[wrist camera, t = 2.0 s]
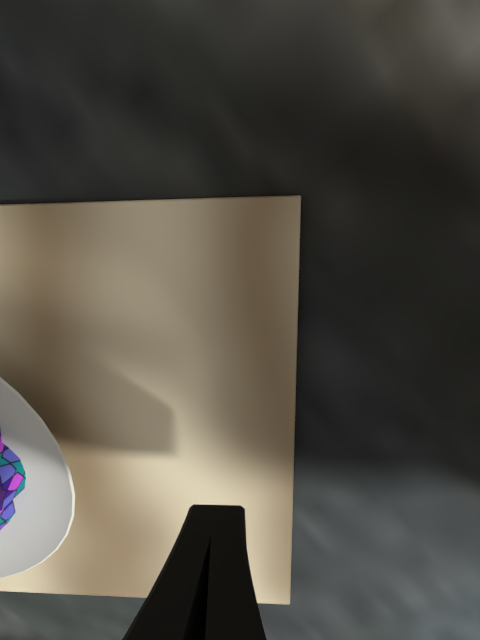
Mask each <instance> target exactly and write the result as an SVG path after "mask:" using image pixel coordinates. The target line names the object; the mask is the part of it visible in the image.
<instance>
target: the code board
mask: <svg viewBox="0 0 480 640" xmlns="http://www.w3.org/2000/svg"><path fill="white" fill-rule="evenodd" d="M300 213H301V196H300V195H293V196H261V197H229V198H196V199H164V200H132V201H100V202H68V203H36V204H4V205H0V377H1V378H2V379H3V380H4V381H6V382H7V383H8V384H9V385H10V386H11V387H13V388H14V389H15V390H16V391H17V392H18V393H19V394H20V395H21V396H22V397H23V398H24V399H25V400H26V402H27V403H28V404H29V405H30V406H31V407H32V408H33V409H34V411H35V412H36V413H37V414H38V415H39V416H40V417H41V418H42V420H43V421H44V423H45V424H46V426H47V427H48V429H49V430H50V432H51V433H52V435H53V436H54V438H55V440H56V441H57V443H58V444H59V446H60V448H61V450H62V453H63V455H64V457H65V460H66V462H67V464H68V467H69V469H70V471H71V476H72V481H73V486H74V491H75V509H74V518H73V521H72V524H71V527H70V530H69V533H68V535H67V537H66V538H65V539H64V541H63V542H62V544H61V545H60V547H59V548H58V550H56V551H55V552H54V553H53V554H52V555H51V556H49V557H48V558H47V559H46V560H45V561H44V562H42V563H40V564H38V565H36V566H34V567H33V568H31V569H29V570H27V571H25V572H21V573H18V574H15V575H12V576H8V577H5V578H0V591H12V592H34V593H55V594H77V595H98V596H120V597H141V598H147V596H148V595H149V593H150V591H151V589H152V587H153V585H154V583H155V581H156V579H157V577H158V576H159V574H160V572H161V570H162V568H163V566H164V564H165V562H166V560H167V558H168V556H169V554H170V552H171V550H172V548H173V546H174V544H175V541H176V539H177V537H178V535H179V533H180V530H181V528H182V526H183V523H184V521H185V518H186V516H187V513H188V510H189V508H190V507H191V506H192V505H193V504H199V505H241V506H242V507H243V508H244V509H245V521H246V542H247V553H248V560H249V566H250V571H251V577H252V581H253V586H254V591H255V595H256V600H257V603H270V604H290V581H291V544H292V507H293V471H294V434H295V397H296V360H297V324H298V287H299V250H300Z"/></svg>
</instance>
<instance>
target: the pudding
mask: <svg viewBox="0 0 480 640" xmlns="http://www.w3.org/2000/svg"><path fill="white" fill-rule="evenodd" d="M74 509H75V491H74V486H73V481H72V476H71V471H70V469H69V467H68V464H67V462H66V460H65V457H64V455H63V453H62V450H61V448H60V446H59V444H58V443H57V441H56V440H55V438H54V436H53V435H52V433H51V432H50V430H49V429H48V427H47V426H46V424H45V423H44V421H43V420H42V418H41V417H40V416H39V415H38V414H37V413H36V412H35V411H34V409H33V408H32V407H31V406H30V405H29V404H28V403H27V402H26V400H25V399H24V398H23V397H22V396H21V395H20V394H19V393H18V392H17V391H16V390H15V389H14V388H13V387H11V386H10V385H9V384H8V383H7V382H6V381H4V380H3V379H2V378H1V377H0V578H5V577H8V576H12V575H15V574H18V573H21V572H25V571H27V570H29V569H31V568H33V567H34V566H36V565H38V564H40V563H42V562H44V561H45V560H46V559H47V558H48V557H49V556H51V555H52V554H53V553H54V552H55V551H56V550H58V548H59V547H60V545H61V544H62V542H63V541H64V539H65V538H66V537H67V535H68V533H69V530H70V527H71V524H72V521H73V518H74Z"/></svg>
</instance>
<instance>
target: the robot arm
mask: <svg viewBox="0 0 480 640" xmlns="http://www.w3.org/2000/svg"><path fill="white" fill-rule="evenodd" d="M122 640H266V636H265V632H264V629H263V625H262V621H261V617H260V613H259V609H258V605H257V600H256V595H255V591H254V586H253V581H252V577H251V571H250V566H249V560H248V553H247V542H246V521H245V509H244V508H243V507H242V506H241V505H199V504H193V505H192V506H191V507H190V508H189V510H188V513H187V516H186V518H185V521H184V523H183V526H182V528H181V530H180V533H179V535H178V537H177V539H176V541H175V544H174V546H173V548H172V550H171V552H170V554H169V556H168V558H167V560H166V562H165V564H164V566H163V568H162V570H161V572H160V574H159V576H158V577H157V579H156V581H155V583H154V585H153V587H152V589H151V591H150V593H149V595H148V596H147V598H146V600H145V602H144V603H143V605H142V607H141V609H140V610H139V612H138V614H137V615H136V617H135V619H134V621H133V622H132V624H131V626H130V627H129V629H128V631H127V633H126V634H125V636H124V638H123V639H122Z"/></svg>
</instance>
